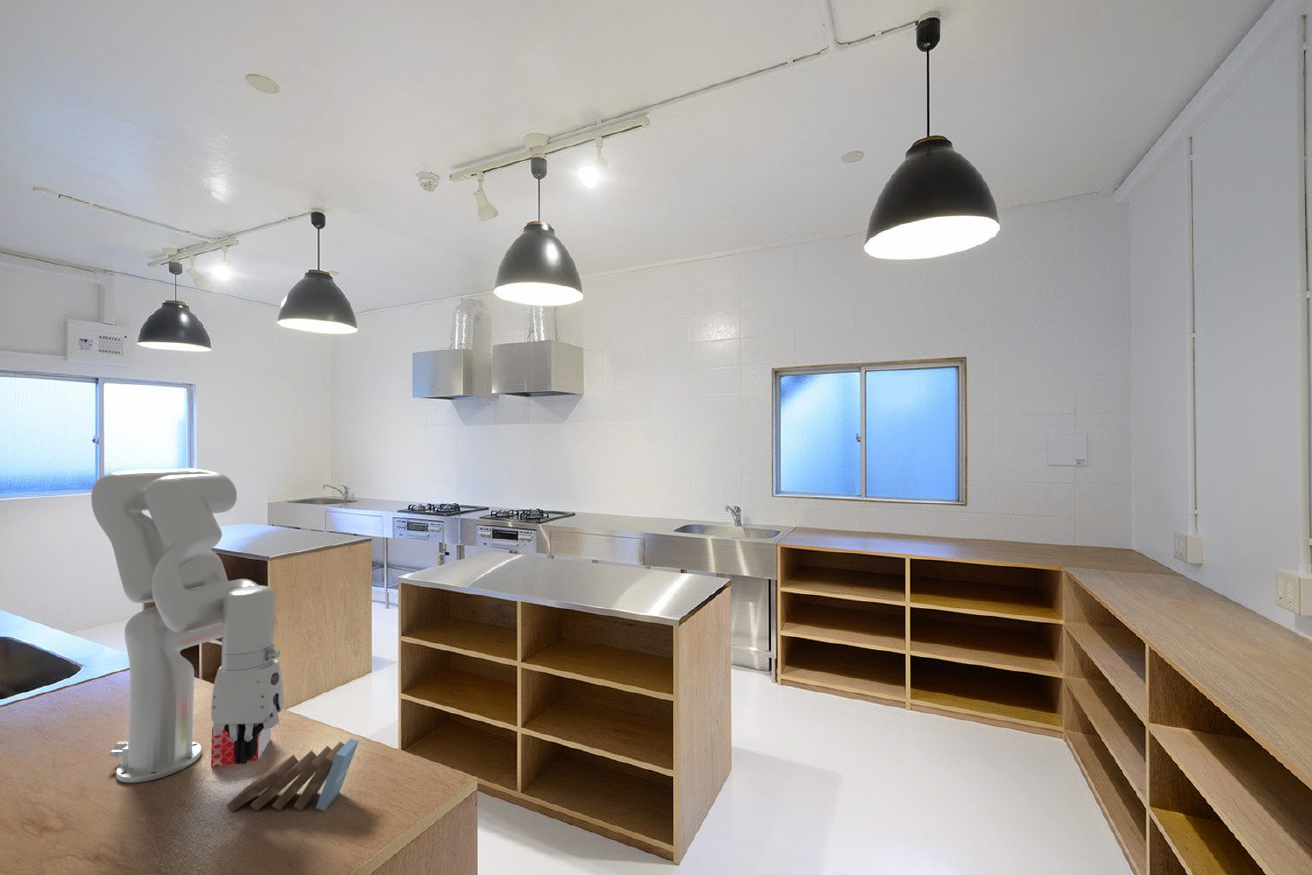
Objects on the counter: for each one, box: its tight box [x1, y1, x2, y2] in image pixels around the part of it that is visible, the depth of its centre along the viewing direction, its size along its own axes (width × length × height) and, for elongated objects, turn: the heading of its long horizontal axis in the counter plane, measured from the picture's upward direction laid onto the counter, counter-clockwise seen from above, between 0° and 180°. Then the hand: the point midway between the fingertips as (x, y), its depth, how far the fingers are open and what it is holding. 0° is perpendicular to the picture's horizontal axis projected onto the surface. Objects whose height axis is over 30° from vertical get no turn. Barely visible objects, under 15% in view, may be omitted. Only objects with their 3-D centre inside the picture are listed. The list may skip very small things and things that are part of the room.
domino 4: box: [293, 741, 346, 812], centre depth 98 cm, size 2×5×10 cm
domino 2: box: [249, 749, 318, 813], centre depth 97 cm, size 2×5×10 cm
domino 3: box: [272, 745, 333, 812], centre depth 97 cm, size 2×5×10 cm
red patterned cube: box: [210, 726, 272, 768], centre depth 112 cm, size 8×8×8 cm
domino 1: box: [226, 754, 299, 813], centre depth 97 cm, size 2×5×10 cm
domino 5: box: [315, 738, 359, 812], centre depth 98 cm, size 2×5×10 cm, turn 3°
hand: (245, 759), depth 97 cm, fingers closed
